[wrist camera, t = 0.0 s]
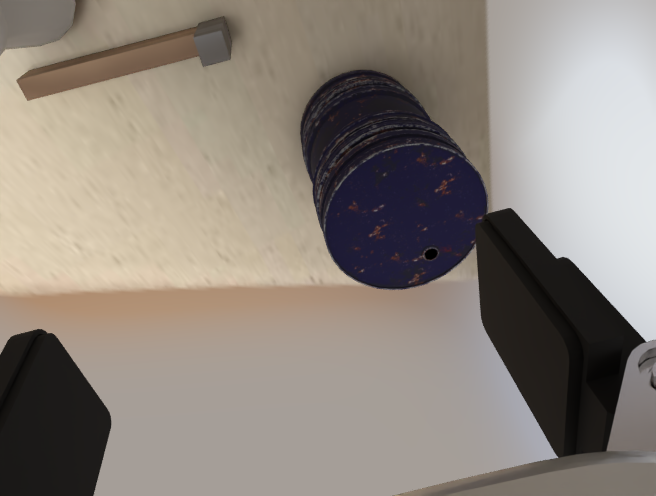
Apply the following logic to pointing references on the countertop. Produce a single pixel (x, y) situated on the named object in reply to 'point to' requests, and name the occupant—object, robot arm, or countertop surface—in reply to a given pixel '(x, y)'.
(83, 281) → the countertop surface
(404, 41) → the countertop surface
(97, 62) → the chute
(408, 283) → the dark blue cylinder
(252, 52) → the countertop surface
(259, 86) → the countertop surface
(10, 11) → the salt shaker
